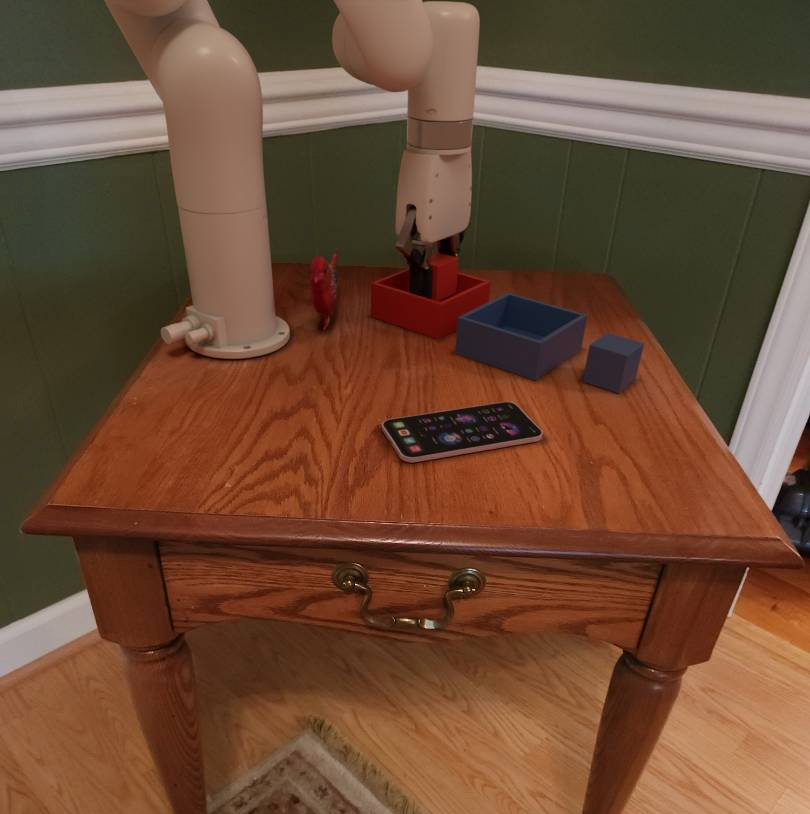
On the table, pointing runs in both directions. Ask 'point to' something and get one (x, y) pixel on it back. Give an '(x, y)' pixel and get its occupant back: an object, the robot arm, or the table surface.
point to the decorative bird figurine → (324, 286)
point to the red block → (443, 275)
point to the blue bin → (520, 335)
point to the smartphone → (460, 431)
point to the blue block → (612, 362)
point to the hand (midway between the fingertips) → (432, 290)
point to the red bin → (426, 304)
